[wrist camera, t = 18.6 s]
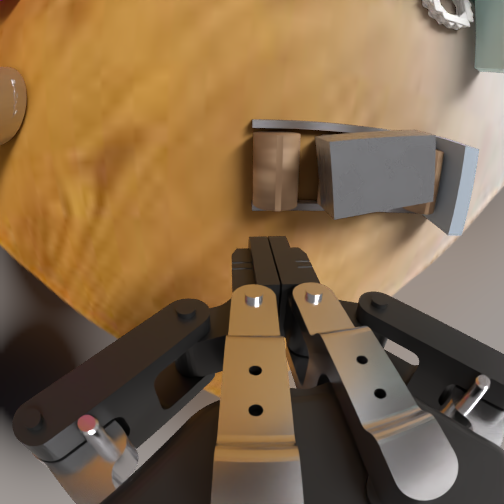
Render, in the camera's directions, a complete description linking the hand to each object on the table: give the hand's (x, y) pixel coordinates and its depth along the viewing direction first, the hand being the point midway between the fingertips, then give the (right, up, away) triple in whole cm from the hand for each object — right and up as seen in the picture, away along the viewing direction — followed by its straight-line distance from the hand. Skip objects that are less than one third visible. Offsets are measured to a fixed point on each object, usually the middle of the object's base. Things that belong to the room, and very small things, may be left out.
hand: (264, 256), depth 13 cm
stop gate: (+19, +9, +15) cm, 26 cm away
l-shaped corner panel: (+21, +27, +6) cm, 35 cm away
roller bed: (+8, +8, +15) cm, 19 cm away
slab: (+10, +8, +11) cm, 17 cm away
